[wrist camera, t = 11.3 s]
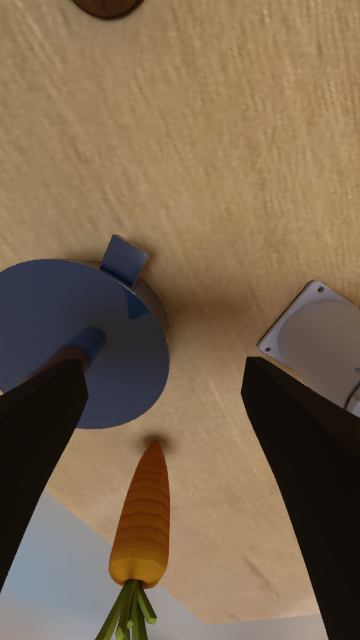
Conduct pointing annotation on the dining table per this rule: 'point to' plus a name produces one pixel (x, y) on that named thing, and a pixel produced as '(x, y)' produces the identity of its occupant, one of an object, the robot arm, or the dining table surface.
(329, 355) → the robot arm
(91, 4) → the mortar and pestle
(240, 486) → the dining table surface
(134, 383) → the lid
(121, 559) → the carrot
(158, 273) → the dining table surface
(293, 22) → the dining table surface
